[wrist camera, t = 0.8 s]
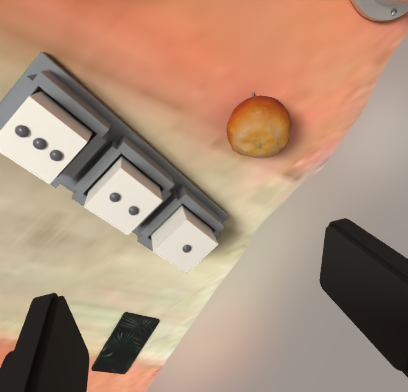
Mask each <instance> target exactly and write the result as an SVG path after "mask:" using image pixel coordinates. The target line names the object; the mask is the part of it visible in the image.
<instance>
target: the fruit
mask: <svg viewBox="0 0 408 392" xmlns="http://www.w3.org/2000/svg"><path fill="white" fill-rule="evenodd" d="M290 125H291V121H290V117H289V114H288V112H287V110H286V109H285V107H284V106H283V105H282V104H281V103H280V102H279V101H278V100H276V99H275V98H272V97H267V96H255V95H254V93H252V98H248V99H246V100H245V101H243V102H242V103H240V104H239V105H238V106H237V107H236V108H235V109H234V111H233V113H232V115H231V117H230V119H229V122H228V125H227V136H228V140H229V143H230V144H231V147H232V149H233V150H234V151H236V152H237V153H239V154H241V155H246V156H251V157H256V158H267V157H271V156H275V155H276V154H278V153H279V152H280V150H281V149H282V148H283V147H285V146H286V145H287V143H288V140H289V132H290Z"/></svg>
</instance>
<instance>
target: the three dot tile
mask: <svg viewBox="0 0 408 392" xmlns="http://www.w3.org/2000/svg"><path fill="white" fill-rule="evenodd" d="M92 133H93V132H91V131H90V130H89V129H88V128H87V127H85V126H84V125H83V124H82V123H80V122H79V121H78V120H77V119H75V118H74V117H73V116H72V115H70V114H69V113H68V112H67V111H66V110H64V109H63V108H62V107H61V106H59V105H58V104H57V103H56V102H54V101H53V100H52V99H51V98H49V97H48V96H47V95H46V94H45V93H43V92H42V91H41V92H38V93H36V94H33V95H30V96H29V97H28V98H27V99H26V100H25V101H24V103H23V104H22V105H21V106H20V108H19V109H18V110H17V111H16V112H15V114H14V115H13V116H12V117H11V118H10V120H9V121H8V122H7V123H6V124H5V126H4V127H3V128H2V129H1V130H0V153H2V154H3V155H5V156H6V157H8V158H9V159H11V160H13V161H14V162H16V163H17V164H19V165H20V166H22V167H23V168H25V169H26V170H28V171H29V172H31V173H32V174H34V175H36V176H37V177H39V178H40V179H42V180H43V181H45V182H46V183H48V184H50V183H51V182H52V181H53V180H54V179H55V178H56V177H57V176H58V175H59V173H60V172H61V171H62V170H63V169H64V168H65V167H66V166H67V165H68V163H69V162H70V161H71V160H72V159H73V158H74V157H75V156H76V155H77V153H78V152H79V151H80V150H81V149H82V148H83V147H84V146H85V145H86V143H87V142H88V141H89V139H90V137H91V135H92Z"/></svg>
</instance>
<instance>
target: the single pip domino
mask: <svg viewBox="0 0 408 392" xmlns="http://www.w3.org/2000/svg"><path fill="white" fill-rule="evenodd" d="M151 238H152V247H153V252H154V253H155V254H157V255H158V256H160V257H161V258H163V259H164V260H166V261H168V262H169V263H171V264H172V265H174V266H175V267H177V268H178V269H180V270H181V271H183V272H184V273H186V274H187V273H188V272H189V271H190V270H191V269H192V268H193V267H195V266H196V265H197V264H198V263H199V262H200V261H201V260H202V259H203V258H204V257H205V256H207V255H208V254H209V253H210V252H211V251H212V250H213V249H214V248H215V247H216V246H217V245H219V244H218V242H217V240H216V238H215V236H214V234H213V232H212V230H211V228H210V227H209V226H208V225H206V224H205V223H204V222H203V221H201V220H200V219H199V218H198V217H196V216H195V215H194V214H193V213H191V212H190V211H189V210H188V209H187V208H185V207H184V206H183V205H181V206H180V207H179V208H178V209H177V210H175V211H174V212H173V213H172V214H171V215H170V216H169V217H168V218H167V219H166V220H165V221H164V222H163V223H162V224H161V225H160V226H159V227H158V228H157V229H156V230H155V231H154V232H153V233H152V234H151Z"/></svg>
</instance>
